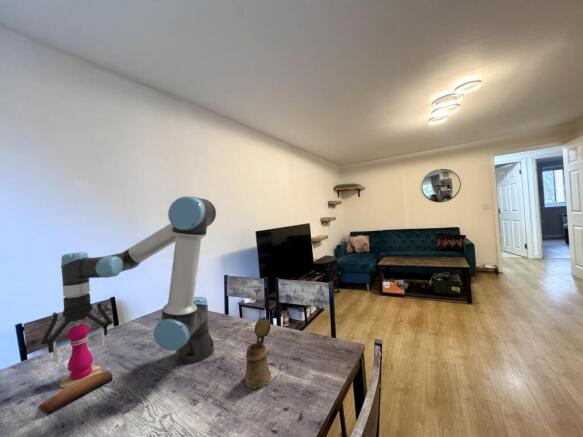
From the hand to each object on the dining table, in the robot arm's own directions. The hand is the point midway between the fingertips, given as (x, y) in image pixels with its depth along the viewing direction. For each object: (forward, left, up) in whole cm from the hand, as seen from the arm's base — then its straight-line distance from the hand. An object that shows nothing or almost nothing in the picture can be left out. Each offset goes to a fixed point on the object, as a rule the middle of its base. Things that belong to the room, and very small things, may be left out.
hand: (80, 352), depth 93 cm
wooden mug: (-54, -40, -9) cm, 68 cm away
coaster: (0, 0, -9) cm, 9 cm away
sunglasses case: (-11, +3, -10) cm, 15 cm away
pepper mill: (0, 0, -9) cm, 9 cm away
